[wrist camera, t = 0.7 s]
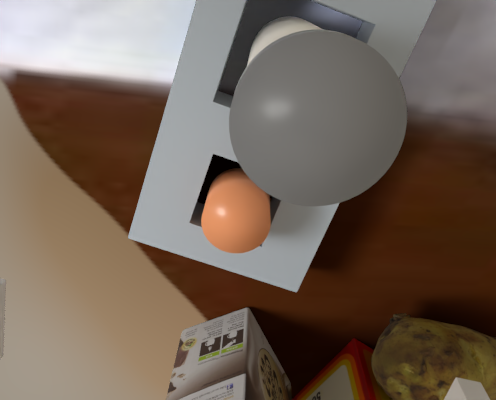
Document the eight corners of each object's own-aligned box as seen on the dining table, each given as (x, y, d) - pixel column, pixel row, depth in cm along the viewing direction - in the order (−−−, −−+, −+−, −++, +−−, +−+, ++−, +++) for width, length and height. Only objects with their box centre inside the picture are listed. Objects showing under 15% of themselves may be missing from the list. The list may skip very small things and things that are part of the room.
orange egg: (200, 213, 31) (192, 241, 28) (219, 159, 30) (213, 181, 26) (257, 232, 32) (256, 261, 28) (278, 180, 30) (280, 204, 27)
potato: (444, 404, 41) (484, 494, 33) (341, 320, 38) (360, 399, 30) (526, 348, 38) (590, 432, 31) (423, 254, 35) (466, 322, 28)
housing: (140, 215, 34) (127, 238, 31) (228, -84, 27) (223, -95, 23) (293, 265, 36) (296, 292, 32) (419, -6, 28) (439, -7, 25)
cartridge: (235, 82, 30) (206, 174, 15) (263, -1, 28) (265, 3, 13) (310, 109, 31) (360, 227, 15) (343, 30, 29) (440, 71, 13)
